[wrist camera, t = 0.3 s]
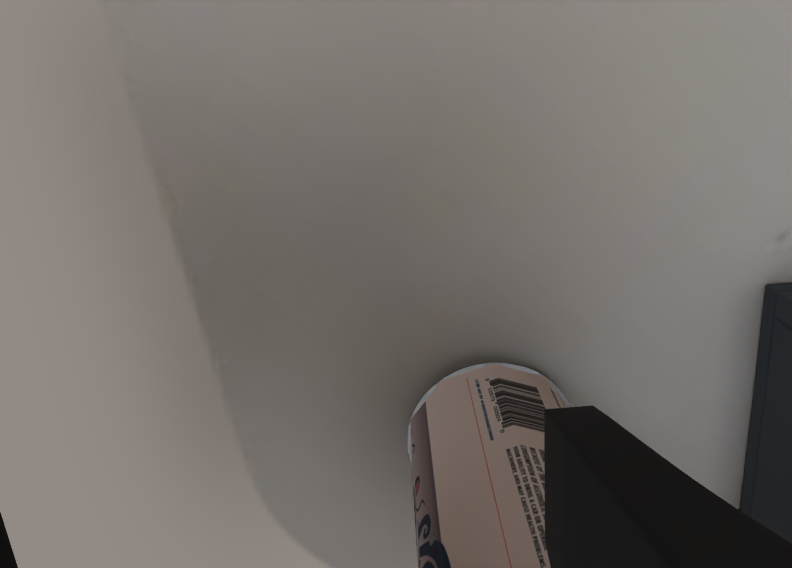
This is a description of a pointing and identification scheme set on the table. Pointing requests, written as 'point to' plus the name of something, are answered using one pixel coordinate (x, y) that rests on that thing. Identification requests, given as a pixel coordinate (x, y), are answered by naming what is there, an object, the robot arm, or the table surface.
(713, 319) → the table surface
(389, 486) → the table surface
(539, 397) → the beer can
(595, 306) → the table surface
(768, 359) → the tray
